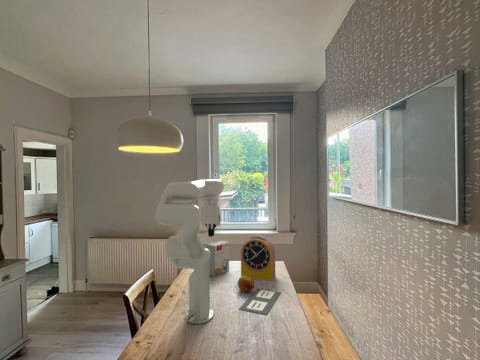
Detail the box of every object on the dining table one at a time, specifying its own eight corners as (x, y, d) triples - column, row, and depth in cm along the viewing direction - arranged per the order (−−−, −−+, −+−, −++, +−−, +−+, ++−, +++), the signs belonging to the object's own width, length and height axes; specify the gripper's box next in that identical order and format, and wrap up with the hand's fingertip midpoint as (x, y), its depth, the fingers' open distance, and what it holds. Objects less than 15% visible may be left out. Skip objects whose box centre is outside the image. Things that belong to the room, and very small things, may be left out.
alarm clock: (240, 276, 168) (240, 235, 168) (245, 271, 176) (245, 233, 177) (272, 280, 160) (271, 238, 160) (275, 275, 168) (275, 235, 168)
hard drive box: (214, 276, 168) (214, 246, 168) (206, 274, 173) (205, 244, 173) (229, 270, 180) (229, 241, 181) (221, 268, 185) (221, 240, 185)
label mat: (266, 315, 119) (266, 314, 119) (238, 309, 124) (238, 308, 124) (281, 292, 143) (281, 291, 143) (257, 288, 148) (257, 287, 148)
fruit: (257, 291, 145) (257, 277, 145) (245, 296, 139) (245, 281, 139) (246, 286, 152) (246, 272, 152) (234, 290, 147) (234, 276, 147)
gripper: (195, 202, 141) (195, 236, 140) (219, 203, 135) (220, 238, 135) (202, 201, 147) (203, 233, 147) (226, 202, 142) (226, 235, 141)
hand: (211, 236), depth 141 cm, fingers closed
